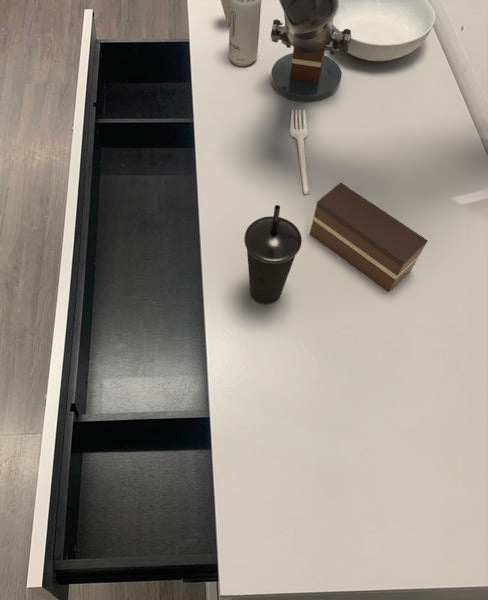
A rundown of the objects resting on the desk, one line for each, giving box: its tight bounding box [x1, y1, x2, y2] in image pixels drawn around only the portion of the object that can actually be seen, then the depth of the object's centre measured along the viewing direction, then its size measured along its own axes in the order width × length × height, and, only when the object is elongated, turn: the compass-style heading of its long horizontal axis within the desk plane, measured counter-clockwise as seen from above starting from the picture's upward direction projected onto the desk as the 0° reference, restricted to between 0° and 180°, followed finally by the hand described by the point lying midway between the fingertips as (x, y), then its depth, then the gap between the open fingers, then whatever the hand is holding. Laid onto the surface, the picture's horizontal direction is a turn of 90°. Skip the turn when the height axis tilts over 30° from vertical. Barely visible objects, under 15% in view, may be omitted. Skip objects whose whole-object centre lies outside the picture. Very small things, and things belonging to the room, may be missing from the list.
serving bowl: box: [332, 0, 436, 62], centre depth 110 cm, size 21×21×7 cm
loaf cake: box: [309, 182, 428, 293], centre depth 82 cm, size 6×16×8 cm, turn 42°
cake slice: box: [290, 47, 326, 83], centre depth 103 cm, size 6×5×8 cm
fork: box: [289, 109, 309, 195], centre depth 97 cm, size 3×20×2 cm, turn 178°
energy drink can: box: [228, 0, 262, 67], centre depth 106 cm, size 6×6×15 cm
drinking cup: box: [243, 204, 303, 305], centre depth 74 cm, size 8×8×20 cm
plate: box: [270, 52, 343, 103], centre depth 108 cm, size 14×14×2 cm
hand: (311, 45), depth 103 cm, fingers open, 8 cm apart
